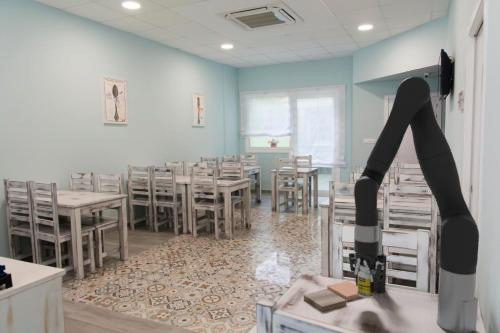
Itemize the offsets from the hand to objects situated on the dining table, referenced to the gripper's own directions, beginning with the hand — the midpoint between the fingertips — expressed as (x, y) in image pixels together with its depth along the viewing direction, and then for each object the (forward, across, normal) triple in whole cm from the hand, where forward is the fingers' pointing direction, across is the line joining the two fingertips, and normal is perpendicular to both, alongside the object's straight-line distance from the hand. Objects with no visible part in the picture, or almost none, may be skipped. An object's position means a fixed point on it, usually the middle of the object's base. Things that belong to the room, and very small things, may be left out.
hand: (366, 288), depth 117 cm
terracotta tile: (+6, +12, -3) cm, 13 cm away
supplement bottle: (+2, 0, 0) cm, 2 cm away
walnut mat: (+6, +10, +9) cm, 15 cm away
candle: (+7, +8, -14) cm, 17 cm away
